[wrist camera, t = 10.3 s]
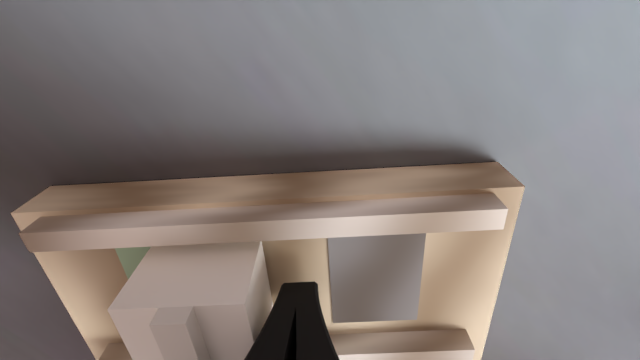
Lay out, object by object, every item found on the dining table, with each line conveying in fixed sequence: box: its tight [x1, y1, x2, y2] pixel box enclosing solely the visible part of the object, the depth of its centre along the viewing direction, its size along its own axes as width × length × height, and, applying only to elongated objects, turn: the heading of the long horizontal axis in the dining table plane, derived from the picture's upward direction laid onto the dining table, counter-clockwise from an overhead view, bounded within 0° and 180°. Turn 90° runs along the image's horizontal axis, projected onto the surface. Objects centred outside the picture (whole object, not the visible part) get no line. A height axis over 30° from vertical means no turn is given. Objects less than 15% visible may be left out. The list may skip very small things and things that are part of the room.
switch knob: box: [108, 241, 273, 360], centre depth 12 cm, size 4×5×4 cm
